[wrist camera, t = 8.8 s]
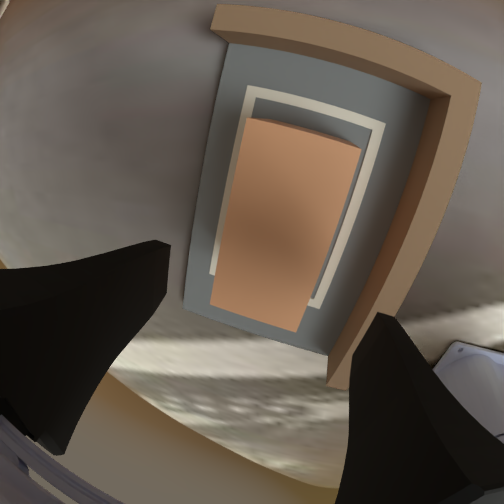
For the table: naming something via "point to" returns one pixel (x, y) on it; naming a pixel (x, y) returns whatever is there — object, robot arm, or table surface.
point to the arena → (367, 170)
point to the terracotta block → (280, 220)
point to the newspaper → (3, 6)
